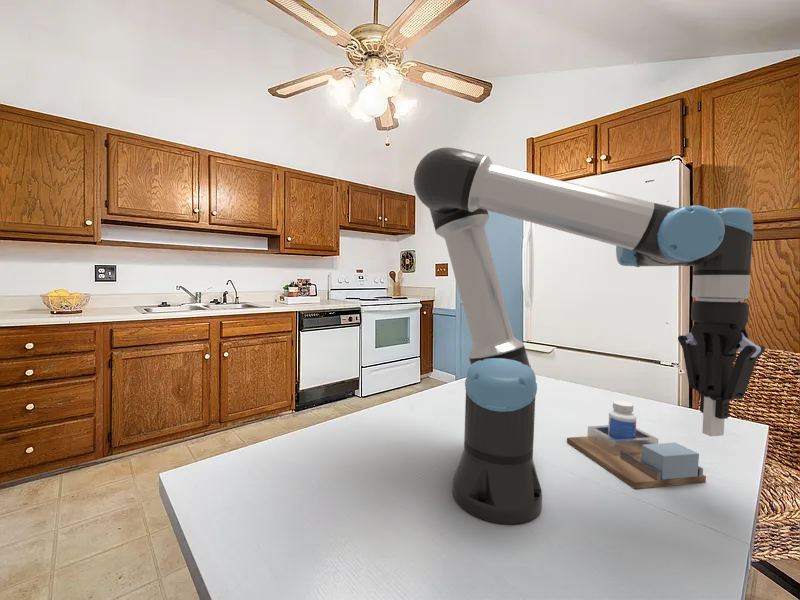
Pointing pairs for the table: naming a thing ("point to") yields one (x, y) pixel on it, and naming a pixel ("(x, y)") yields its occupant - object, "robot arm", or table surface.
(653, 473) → the rails
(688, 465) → the block
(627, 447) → the socket
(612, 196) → the robot arm
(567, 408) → the table surface
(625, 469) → the board
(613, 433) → the pill bottle
